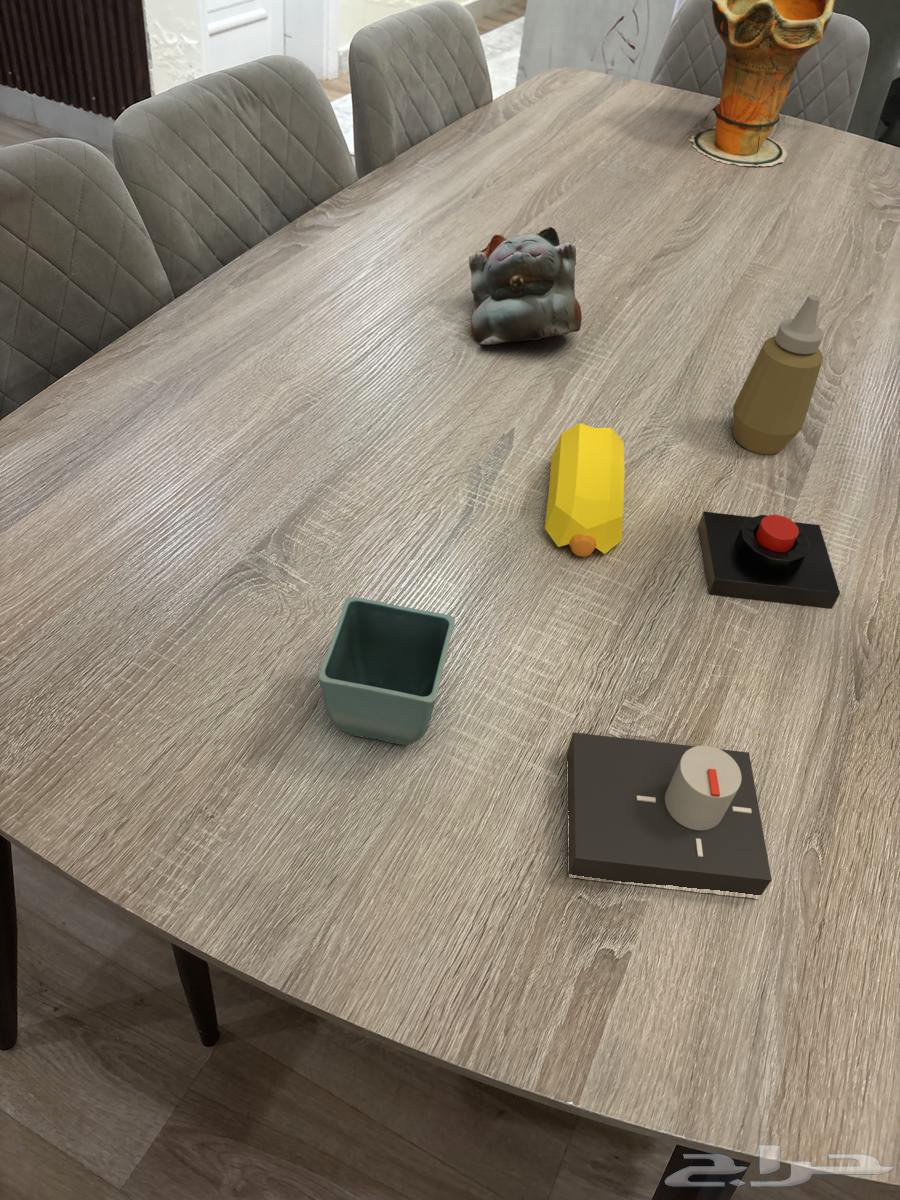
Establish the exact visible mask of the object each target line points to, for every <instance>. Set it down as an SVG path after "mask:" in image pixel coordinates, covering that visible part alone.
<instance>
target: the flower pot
mask: <svg viewBox="0 0 900 1200" xmlns="http://www.w3.org/2000/svg"><path fill="white" fill-rule="evenodd" d="M455 623H456V619H455V617H454V616H451V615H449V614H446V613H442V612H436V611H430V610H424V609H418V608H412V607H407V606H402V605H396V604H393V603H387V602H383V601H377V600H373V599H368V598H364V597H358V596H357V597H356V596H348V597H346V598H345V600H344V602H343V605H342V608H341V611H340V613H339V616H338V620H337V622H336V625H335V629H334V630H333V631H334V632H333V635H332V636H331V640H330V642H329V646H328V647H327V651H326V653H325V655H324V659H323V661H322V664H321V666H320V668H319V671H318V683H319V687H320V692H321V697H322V700H323V704H324V708H325V711H326V715H327V716H328V718H329V719H330V721H331V722H332V723H333V725H335V726H336V727H337V728H338V729H340V730H341V731H343V732H345V733H347V734H348V735H351V734H352V735H351V736H355V735H357V736H356V737H360V736H363V737H362V738H365V737H368V738H367V739H370V738H373V739H372V740H375V739H378V740H377V741H380V740H382V741H381V742H385V741H387V742H386V743H390V742H392V743H391V744H395V743H396V745H400V744H402V745H401V746H408V745H412V744H414V743H417V742H419V741H420V740H421V739H422V738H423V737H424V735H425V734H426V733H427V731H428V728H429V724H430V721H431V719H432V714H433V710H434V707H435V704H436V701H437V697H438V694H439V689H440V685H441V681H442V676H443V671H444V668H445V663H446V659H447V655H448V651H449V647H450V643H451V639H452V636H453V632H454V627H455Z"/></svg>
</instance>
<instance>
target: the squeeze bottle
mask: <svg viewBox="0 0 900 1200" xmlns="http://www.w3.org/2000/svg"><path fill="white" fill-rule="evenodd" d="M820 301H821V298H820V297H819V296H818V295H815V294H810V295H808V297H807V298H806V299H805V301H804V302H803V304H802V306H800V308H799V310H798V311H797V313H796V315H795V316H794V317H793V318H789V319H785V320H783V321H781V322H780V323H779V327H778V329H777V331H776V335H774V336H771V337H769V338H767V339H766V340H764V342H763V344H762V346H761V348H760V349H759V352H758V354H757V356H756V358H755V360H754V362H753V365H752V367H751V369H750V371H749V373H748V375H747V376H746V379H745V381H744V383H743V385H742V387H741V390H740V391H739V393H738V395H737V397H736V399H735V401H734V405H733V407H732V417H733V419H732V421H733V437H734V439H735V441H736V442H737V443H738V444H739V445H740V446H741V447H743V448H744V449H746V450H747V451H749V452H753V453H756V454H761V455H775V454H778V453H780V452H781V451H782V450H784V448H785V447H786V446H788V444H789V443H790V442H791V441H792V440H793V439H794V438H795V437H796V436H797V435H798V434H799V433H800V431H801V430H803V427H804V424H805V420H806V417H807V414H808V411H809V407H810V405H811V401H812V397H813V395H814V390H815V387H816V384H817V381H818V378H819V374H820V371H821V370H820V369H821V368H822V364H823V360H824V356H823V353H822V351H821V349H820V345H821V343H822V341H823V338H824V332H823V330H822V329H821V328H820V327H819V326H818V325H817V320H818V314H819V307H820Z"/></svg>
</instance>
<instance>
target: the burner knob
mask: <svg viewBox="0 0 900 1200" xmlns="http://www.w3.org/2000/svg"><path fill="white" fill-rule="evenodd" d="M695 746H696V747H693V748H691V749H689V750H687V751H686V752H685V753H684V754H683V756H682V758H681V760H680V762H679V764H678V767H677V769H676V771H675V773H674V775H673V778H672V780H671V782H670V784H669V786H668V789H667V791H666V794H665V804H666V807H667V810H668V812H669V813H670V815H671V816H672V817H673V818H674V819H675V820H676V821H677V822H678V823H679V824H681V825H683V826H685V827H687V828H689V829H693V830H701V831H702V830H709V829H711V828H713V827H715V826H717V825H718V824H719V823H720V821H721V820H722V818H723V816H724V814H725V812H726V811H727V809H728V807H729V805H730V803H731V802H732V800H733V798H734V796H735V794H736V792H737V791H738V789H739V787H740V785H741V779H742V777H741V772H740V769H739V767H738V765H737V763H736V762H735V760H734V759H733V758H732V757H731V756H730V755H728V754H727V753H725V752H724V751H722V750H720V749H721V748H717V747H714V746H710V745H695Z"/></svg>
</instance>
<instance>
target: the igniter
mask: <svg viewBox="0 0 900 1200" xmlns="http://www.w3.org/2000/svg"><path fill="white" fill-rule="evenodd" d="M766 516H768V514H760V515H755V516H747V515H737V514H727V513H720V512H712V511H702V514H701V517H700V520H699V523H698V525H697V531H698V538H699V544H700V548H701V557H702V562H703V566H704V567H703V568H704V573H705V574H704V575H705V581H706V586H707V593H708V595H709V596H717V597H724V598H725V597H726V598H734V599H741V600H742V599H743V600H749V601H751V600H752V601H760V602H767V603H768V602H769V603H776V604H777V603H778V604H785V605H793V606H802V607H811V608H819V609H827V610H828V609H829V610H832V609H834V606H835V605H836V602H837V600H838V599H839V597H840V595H841V591H840V588H839V585H838V581H837V577H836V575H835V571H834V569H833V565H832V561H831V559H830V555H829V552H828V549H827V545H826V543H825V542H826V541H825V539H824V536H823V531H822V529H821V526H820V524H817V523H816V524H815V523H807V522H798V521H793V522H794V523H795V524H796V525H797V527H798V529H799V533H798V536H797V538H796V540H795V542H794V544H793V546H792V548H791V549H790V550H789V551H787V552H777V551H772V550H770V549H768V548H766V547H764V546H762V545H761V544H760V543H759V542H758V541H757V540H756V533H757V530H758V528H759V526H760V523H761V521H762V519H763V518H764V517H766Z"/></svg>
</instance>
